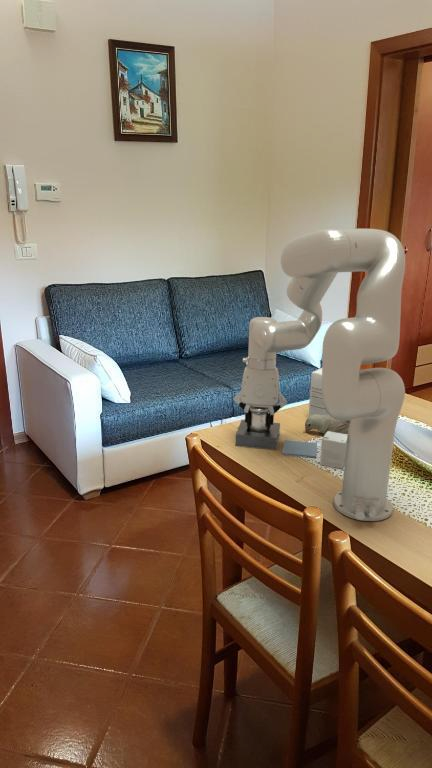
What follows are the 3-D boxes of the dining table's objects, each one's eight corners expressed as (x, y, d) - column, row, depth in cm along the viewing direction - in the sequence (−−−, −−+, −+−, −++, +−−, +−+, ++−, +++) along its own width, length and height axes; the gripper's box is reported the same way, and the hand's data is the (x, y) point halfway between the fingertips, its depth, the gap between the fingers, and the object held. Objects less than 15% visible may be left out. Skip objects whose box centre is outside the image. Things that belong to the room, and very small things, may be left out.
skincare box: (348, 460, 147) (350, 434, 145) (342, 469, 142) (345, 442, 139) (325, 456, 149) (327, 430, 147) (319, 464, 144) (321, 438, 142)
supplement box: (319, 409, 184) (323, 365, 179) (345, 416, 179) (349, 370, 174) (307, 417, 177) (310, 371, 172) (333, 424, 172) (337, 377, 167)
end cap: (267, 445, 155) (269, 411, 152) (246, 443, 156) (247, 409, 153) (269, 436, 161) (271, 403, 158) (249, 435, 162) (250, 402, 159)
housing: (276, 449, 152) (276, 437, 151) (235, 445, 154) (235, 434, 153) (279, 434, 163) (280, 423, 162) (241, 430, 165) (241, 419, 164)
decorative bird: (305, 429, 167) (307, 405, 165) (361, 436, 163) (363, 412, 161) (303, 435, 163) (304, 411, 160) (359, 443, 158) (362, 418, 156)
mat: (316, 458, 148) (316, 456, 147) (282, 454, 149) (282, 452, 149) (317, 444, 156) (317, 442, 156) (284, 441, 158) (284, 439, 157)
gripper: (228, 364, 150) (226, 428, 155) (292, 369, 147) (288, 433, 152) (232, 357, 157) (231, 418, 162) (294, 361, 154) (290, 423, 159)
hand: (259, 425), depth 157 cm, fingers closed on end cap, 5 cm apart
